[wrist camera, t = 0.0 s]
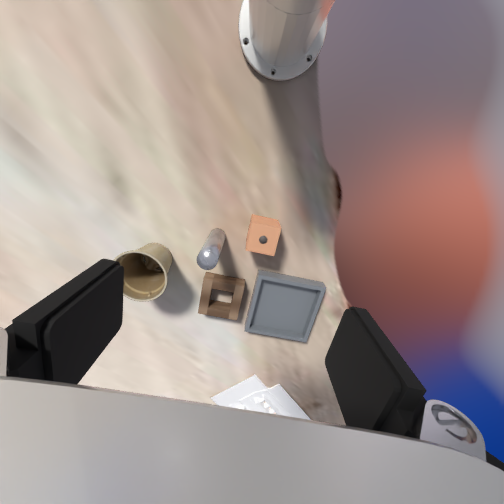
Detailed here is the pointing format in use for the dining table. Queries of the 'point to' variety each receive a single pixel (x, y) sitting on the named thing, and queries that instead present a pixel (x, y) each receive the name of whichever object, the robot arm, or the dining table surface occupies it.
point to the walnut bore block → (219, 307)
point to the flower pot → (145, 272)
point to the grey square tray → (284, 306)
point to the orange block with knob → (263, 235)
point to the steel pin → (211, 249)
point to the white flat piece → (259, 398)
